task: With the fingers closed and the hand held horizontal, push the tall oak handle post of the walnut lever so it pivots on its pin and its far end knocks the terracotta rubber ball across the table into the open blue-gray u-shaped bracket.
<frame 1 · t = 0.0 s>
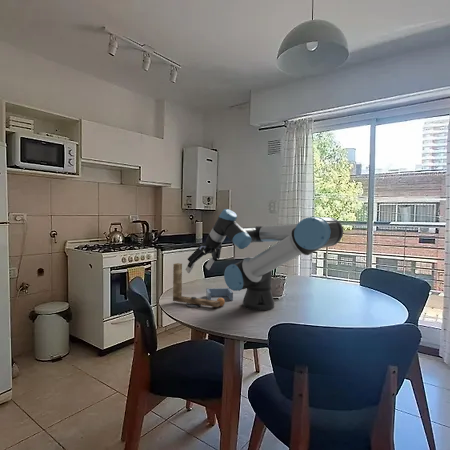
hand: (197, 269, 174), 15 cm above the table, fingers open, 13 cm apart
ball: (220, 306, 163), on the table
lever: (196, 284, 162), point 10 cm above the table, hinge at 0.0°
blue-gray u-shaped bracket: (219, 298, 177), on the table
pivot base: (193, 305, 163), on the table
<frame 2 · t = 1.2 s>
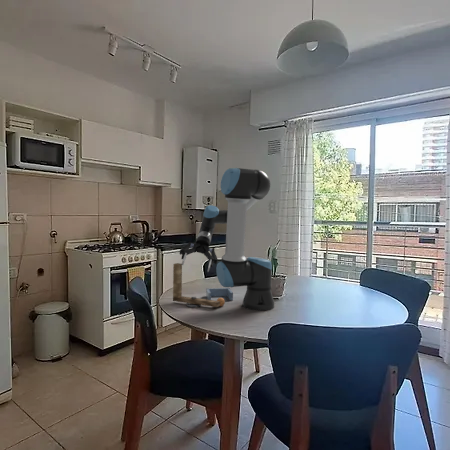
hand: (195, 266, 165), 18 cm above the table, fingers open, 12 cm apart
lever: (196, 284, 162), point 10 cm above the table, hinge at 0.0°, touching gripper
everything else where it was.
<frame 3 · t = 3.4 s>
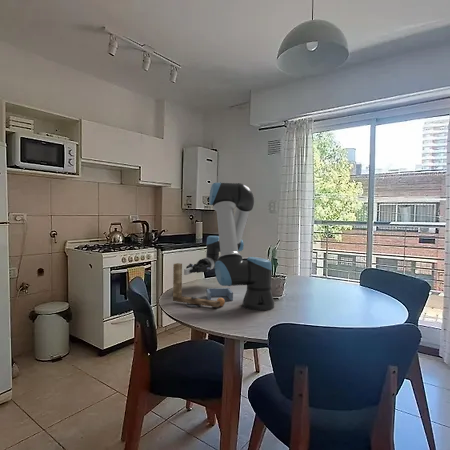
hand: (185, 272, 174), 14 cm above the table, fingers closed
lever: (196, 284, 162), point 10 cm above the table, hinge at -0.4°
everything else where it was.
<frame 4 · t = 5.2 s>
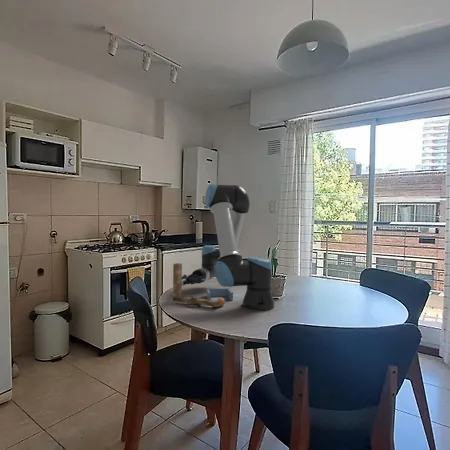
hand: (178, 284, 168), 9 cm above the table, fingers closed
lever: (196, 284, 162), point 10 cm above the table, hinge at 0.7°, touching gripper
everything else where it was.
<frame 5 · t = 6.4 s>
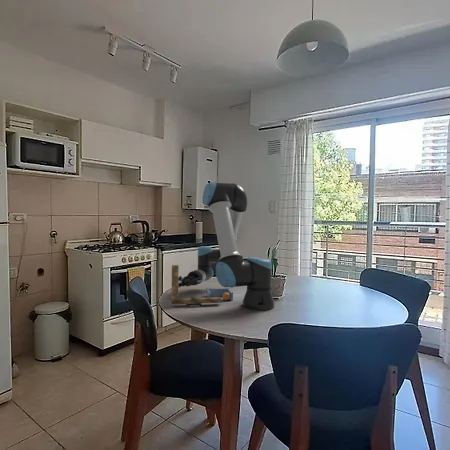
hand: (173, 286, 163), 9 cm above the table, fingers closed
ball: (227, 298, 175), point 1 cm above the table, tilted 48°
lever: (196, 284, 163), point 10 cm above the table, hinge at 33.4°, touching gripper
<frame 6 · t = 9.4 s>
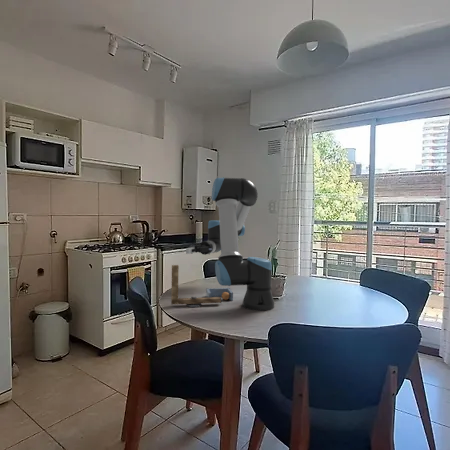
hand: (187, 250, 175), 24 cm above the table, fingers closed
ball: (226, 298, 175), on the table, tilted 33°
lever: (196, 284, 163), point 10 cm above the table, hinge at 33.5°
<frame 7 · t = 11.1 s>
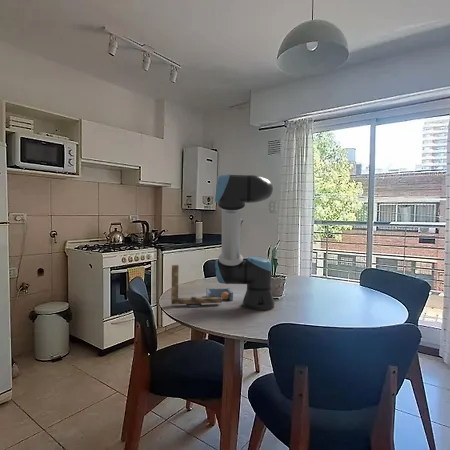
hand: (232, 248, 195), 24 cm above the table, fingers closed
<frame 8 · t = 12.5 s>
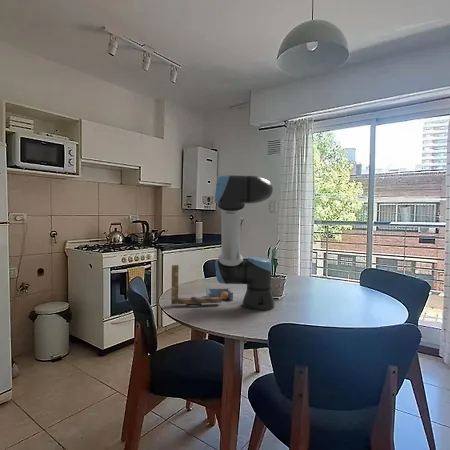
hand: (233, 247, 195), 24 cm above the table, fingers closed
at the end: ball 4.3 cm from the blue-gray u-shaped bracket (horizontally); ball on the table; lever at +34° (first picture: +0°) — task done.
